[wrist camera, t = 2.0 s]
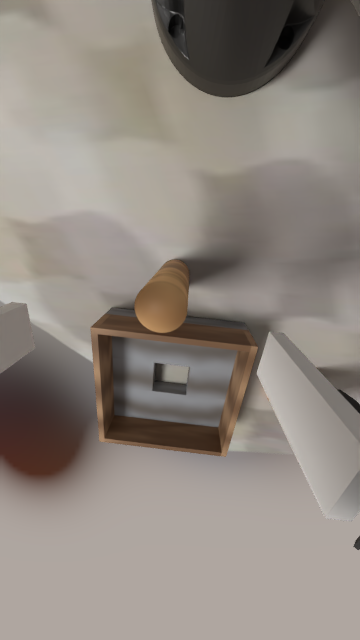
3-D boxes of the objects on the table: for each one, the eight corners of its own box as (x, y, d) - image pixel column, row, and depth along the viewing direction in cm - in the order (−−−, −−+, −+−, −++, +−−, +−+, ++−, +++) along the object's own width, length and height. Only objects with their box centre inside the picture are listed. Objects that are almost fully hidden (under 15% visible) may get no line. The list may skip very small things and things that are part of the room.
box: (111, 307, 31) (90, 327, 24) (244, 322, 30) (258, 346, 24) (114, 406, 39) (99, 441, 32) (220, 419, 38) (225, 456, 32)
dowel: (161, 257, 27) (135, 279, 15) (191, 261, 27) (190, 286, 15) (159, 286, 29) (134, 329, 16) (187, 290, 29) (184, 335, 16)
